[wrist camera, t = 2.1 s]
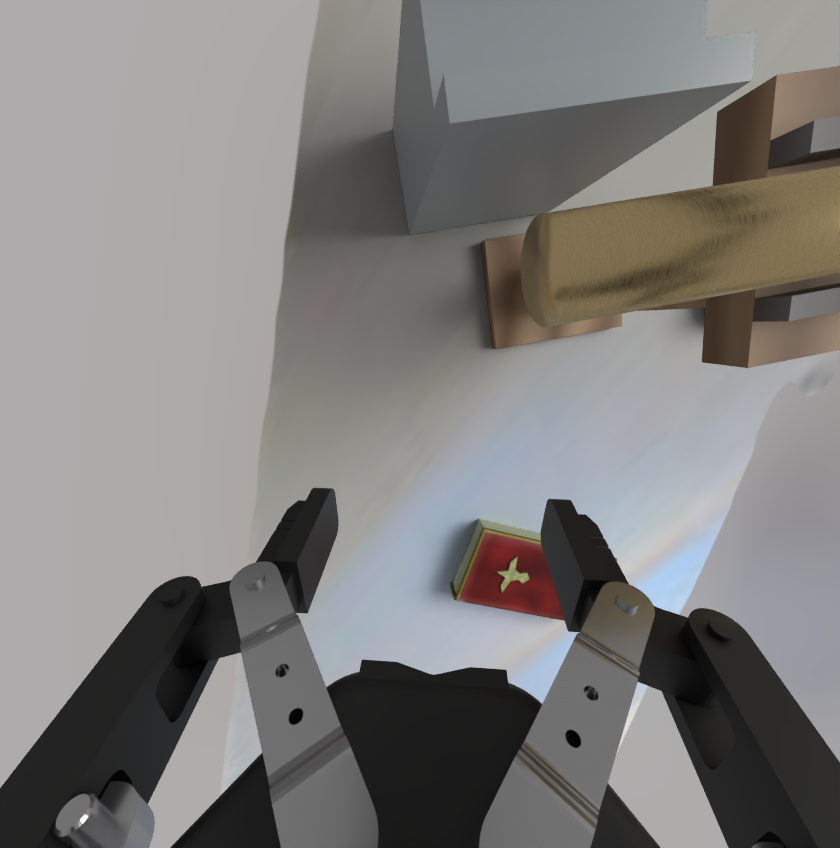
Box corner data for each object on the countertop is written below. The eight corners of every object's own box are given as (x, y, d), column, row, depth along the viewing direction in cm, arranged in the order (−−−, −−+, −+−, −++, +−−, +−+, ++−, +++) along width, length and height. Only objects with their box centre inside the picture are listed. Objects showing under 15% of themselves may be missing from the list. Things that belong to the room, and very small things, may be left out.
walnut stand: (492, 348, 44) (777, 413, 13) (481, 243, 41) (833, -27, 9) (614, 325, 45) (1160, 334, 14) (613, 221, 42) (1340, -90, 10)
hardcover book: (570, 606, 58) (584, 628, 54) (449, 583, 54) (454, 604, 50) (601, 543, 55) (618, 561, 51) (476, 513, 51) (484, 530, 47)
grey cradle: (409, 235, 40) (449, 123, 18) (392, 129, 37) (414, -167, 15) (546, 212, 41) (751, 80, 18) (540, 108, 38) (774, -199, 16)
